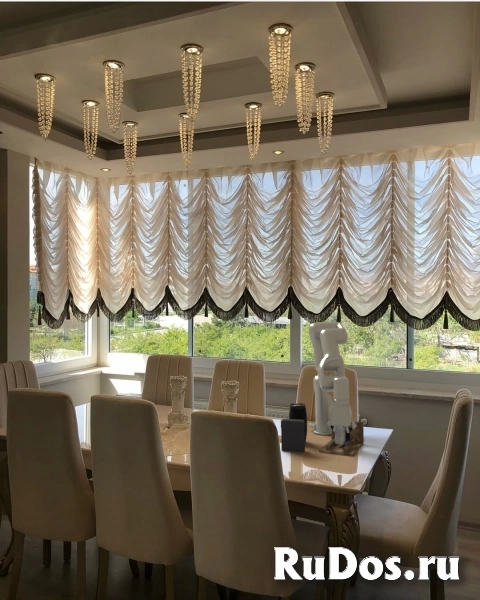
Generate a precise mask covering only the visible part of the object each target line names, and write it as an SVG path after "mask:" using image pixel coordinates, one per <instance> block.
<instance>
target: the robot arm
mask: <svg viewBox="0 0 480 600" xmlns="http://www.w3.org/2000/svg"><path fill="white" fill-rule="evenodd" d="M308 335H309V339H310V342H311V345H312V348H313V361H314V368H315V370H316V371H317V374H316V375H314V377H313V379H312V385H313V391H314V398H315V399H314V403H315V410H314V411H315V414H314V415H315V422H314V423H310V422H309V423H308V424H307V427H309V428H312V433H313V434H316V435H322V436H328V435H329V436H330V435H331V436H332V430H333V431H334V438H335V426H344V427H346V431H347V433H346V441H348V440H349V439H350V431H351V430H353V429H354V428H355V427H357V425H356V424H355V422H354V421H355V420H353V419H354V418H353V412H352V406H351V405H350V380H349V378H348V377H347V376H346V371H345V363H344V362H345V361H344V359H343V356H342V355H341V353H340V349H339V345H345V344H347V343H348V341H349V336H348V332H347V330H346V328H345V327H344V326H343V325H342V323H340V322H338V321H320V322H317V321H316V322H313V323H311V324H310V325H309V327H308ZM325 372H326V373H325ZM330 372H334V373H330ZM331 392H332V393H333V397H332V396H331V395H330V394H329V393H331ZM351 425H353V426H352V427H351V428H350V426H351Z"/></svg>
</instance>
